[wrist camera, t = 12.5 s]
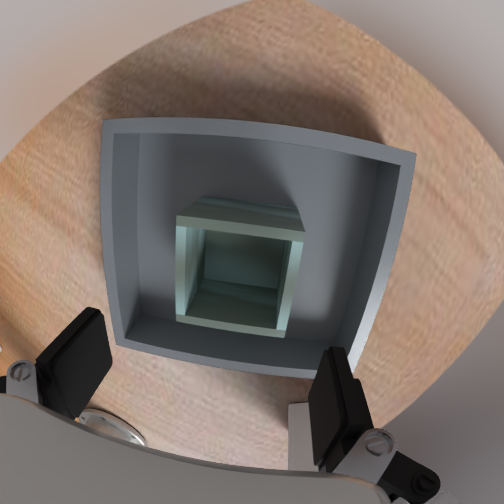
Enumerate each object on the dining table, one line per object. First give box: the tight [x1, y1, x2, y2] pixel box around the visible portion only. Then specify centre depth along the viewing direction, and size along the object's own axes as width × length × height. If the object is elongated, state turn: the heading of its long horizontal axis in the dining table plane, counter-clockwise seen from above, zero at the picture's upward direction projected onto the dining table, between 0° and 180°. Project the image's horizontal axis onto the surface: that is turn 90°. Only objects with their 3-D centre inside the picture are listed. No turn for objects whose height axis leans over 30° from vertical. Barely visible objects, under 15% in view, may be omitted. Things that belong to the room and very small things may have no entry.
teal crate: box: [175, 196, 305, 338], centre depth 19 cm, size 7×7×6 cm
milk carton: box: [288, 402, 319, 472], centre depth 21 cm, size 7×7×19 cm
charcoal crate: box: [100, 117, 417, 379], centre depth 21 cm, size 18×20×5 cm
